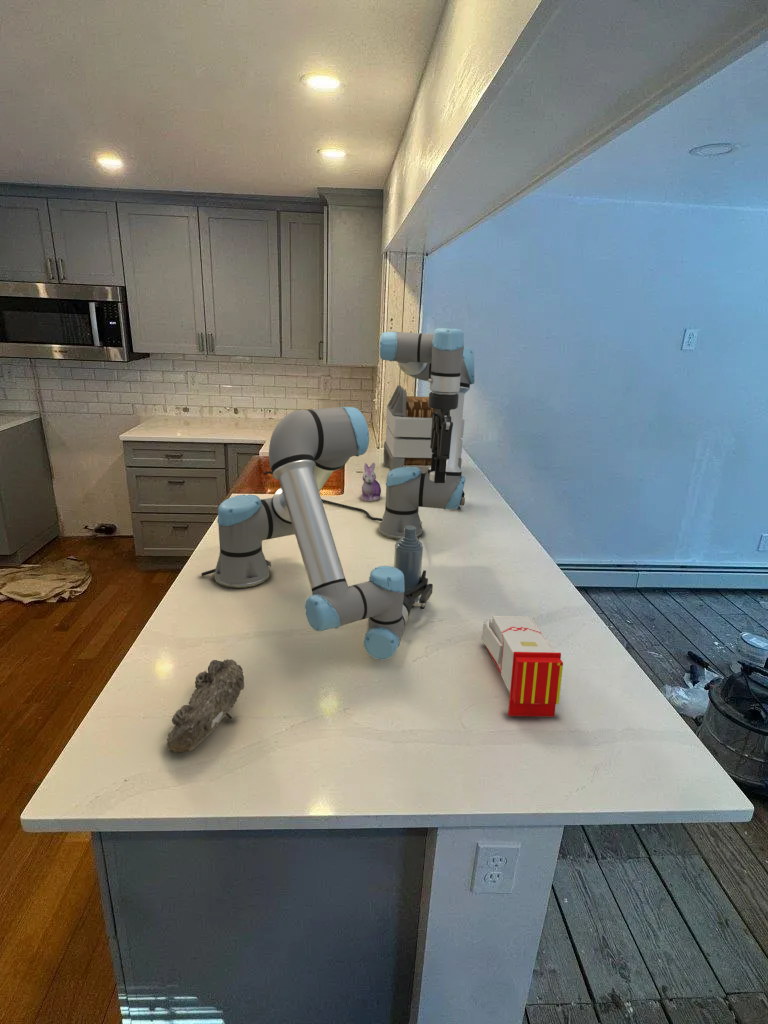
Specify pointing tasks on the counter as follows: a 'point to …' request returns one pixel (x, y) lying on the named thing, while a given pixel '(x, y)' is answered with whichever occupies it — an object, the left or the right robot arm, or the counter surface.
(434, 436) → the right robot arm
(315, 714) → the counter surface
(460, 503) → the figurine character
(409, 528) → the bottle
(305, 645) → the counter surface
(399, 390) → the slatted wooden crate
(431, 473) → the cap
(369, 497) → the figurine
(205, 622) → the counter surface
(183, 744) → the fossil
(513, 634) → the toy
